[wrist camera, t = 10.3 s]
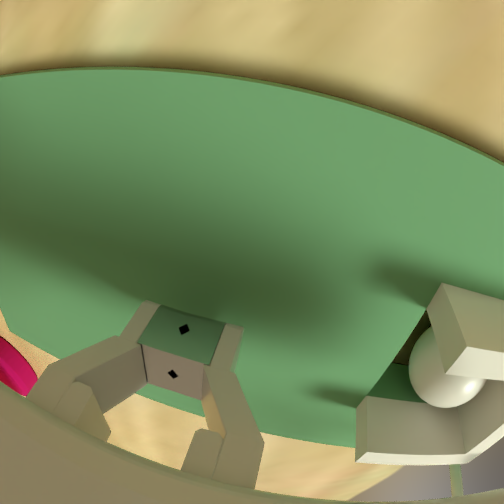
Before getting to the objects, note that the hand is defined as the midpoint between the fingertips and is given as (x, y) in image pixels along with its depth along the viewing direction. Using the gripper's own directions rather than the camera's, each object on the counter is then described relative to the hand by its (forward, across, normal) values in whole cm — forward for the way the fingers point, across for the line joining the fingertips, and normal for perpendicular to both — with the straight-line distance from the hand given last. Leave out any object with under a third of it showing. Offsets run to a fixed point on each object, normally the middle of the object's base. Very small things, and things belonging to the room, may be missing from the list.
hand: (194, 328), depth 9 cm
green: (+3, -2, 0) cm, 4 cm away
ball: (+1, -9, +1) cm, 9 cm away
